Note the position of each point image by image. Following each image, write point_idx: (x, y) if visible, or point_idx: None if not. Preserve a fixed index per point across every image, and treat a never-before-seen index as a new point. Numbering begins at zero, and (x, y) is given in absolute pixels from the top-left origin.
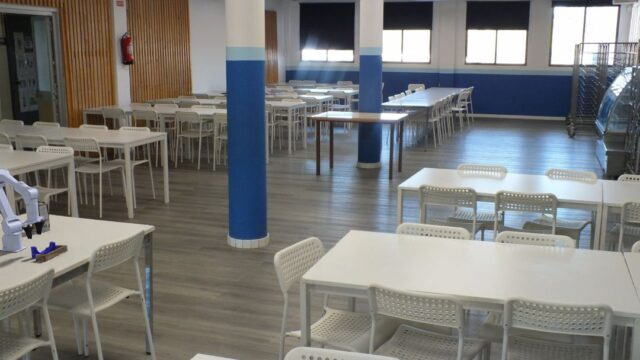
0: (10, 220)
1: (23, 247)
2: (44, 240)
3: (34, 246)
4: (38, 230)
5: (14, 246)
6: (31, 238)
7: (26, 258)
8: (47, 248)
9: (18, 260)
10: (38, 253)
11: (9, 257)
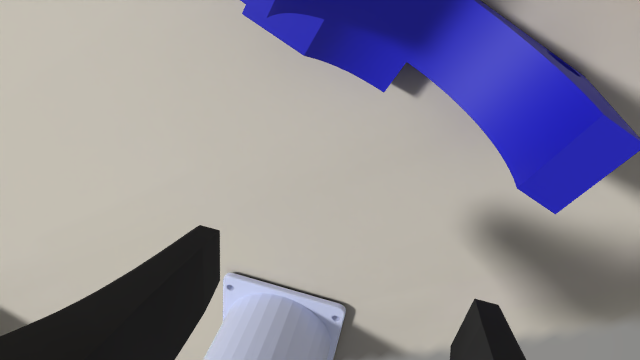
0: None
1: (241, 291)
2: (29, 207)
3: (542, 167)
4: (174, 320)
5: (316, 356)
6: (489, 307)
7: None
8: (330, 25)
9: (615, 231)
10: (552, 62)
11: None
